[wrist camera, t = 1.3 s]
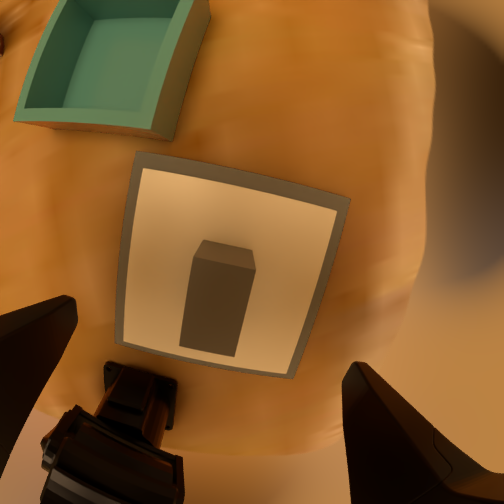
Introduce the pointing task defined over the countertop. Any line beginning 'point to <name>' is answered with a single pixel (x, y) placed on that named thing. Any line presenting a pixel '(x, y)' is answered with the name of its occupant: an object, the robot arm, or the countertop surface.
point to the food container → (1, 45)
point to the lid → (222, 270)
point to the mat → (241, 180)
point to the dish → (114, 66)
